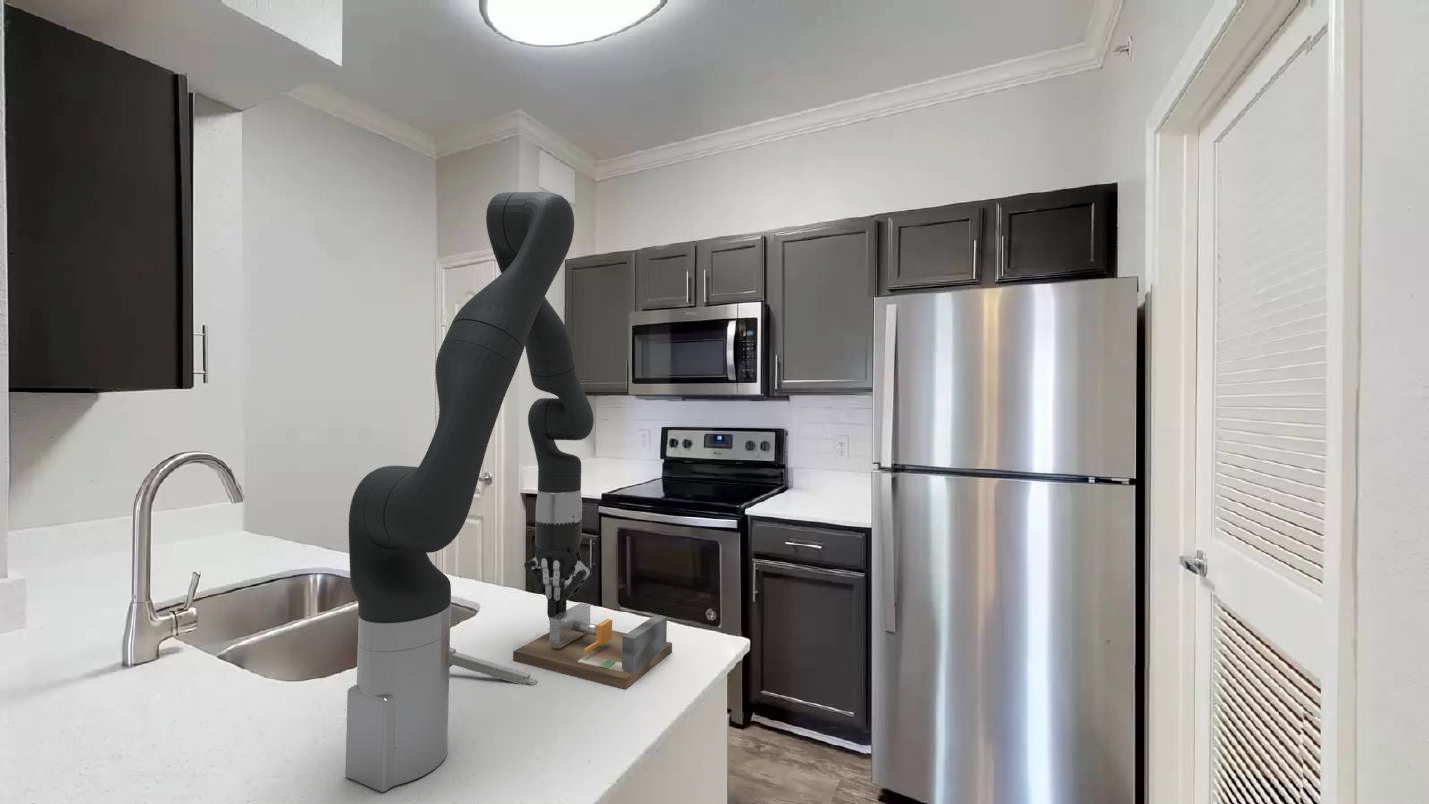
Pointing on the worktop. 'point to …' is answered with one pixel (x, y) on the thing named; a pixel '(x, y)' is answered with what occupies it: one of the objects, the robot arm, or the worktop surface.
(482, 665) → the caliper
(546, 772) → the worktop surface
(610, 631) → the orange paddle
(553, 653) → the gauge board
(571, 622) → the plunger
